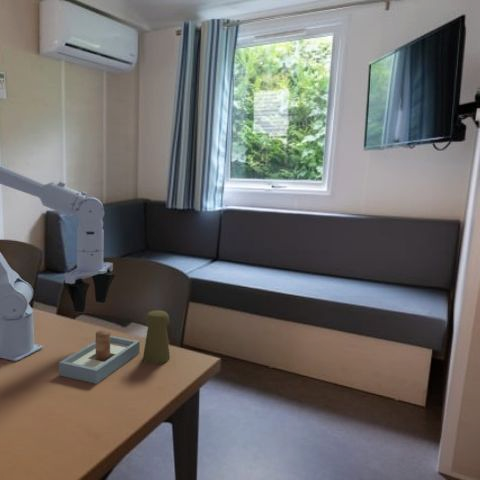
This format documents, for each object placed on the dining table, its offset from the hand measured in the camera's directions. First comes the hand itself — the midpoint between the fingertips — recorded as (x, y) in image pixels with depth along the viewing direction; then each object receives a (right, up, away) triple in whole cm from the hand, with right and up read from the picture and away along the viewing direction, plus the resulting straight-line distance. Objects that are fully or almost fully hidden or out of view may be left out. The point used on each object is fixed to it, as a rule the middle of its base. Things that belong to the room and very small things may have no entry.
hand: (90, 306), depth 98 cm
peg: (+5, -11, -7) cm, 14 cm away
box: (+5, -11, -7) cm, 14 cm away
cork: (+16, -12, -3) cm, 20 cm away
